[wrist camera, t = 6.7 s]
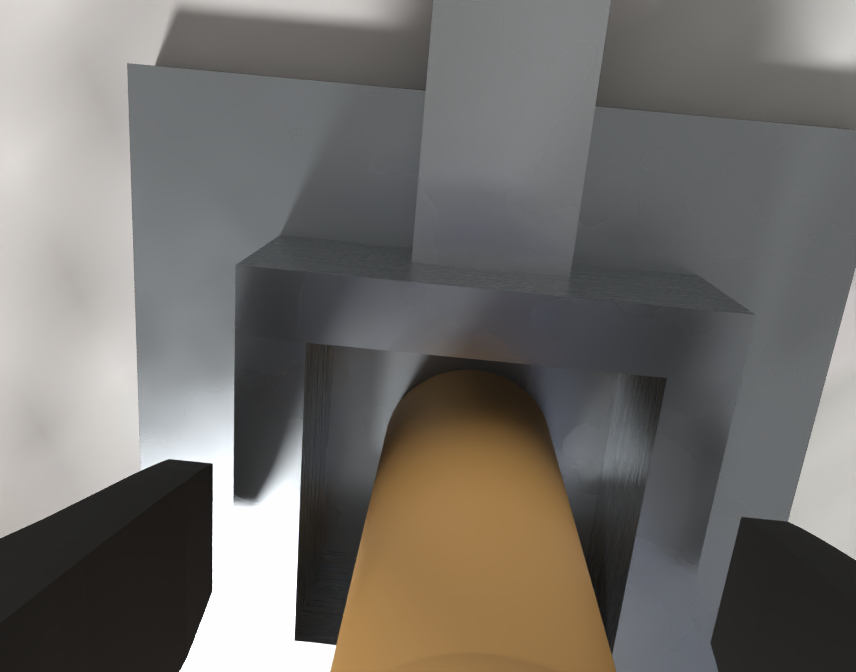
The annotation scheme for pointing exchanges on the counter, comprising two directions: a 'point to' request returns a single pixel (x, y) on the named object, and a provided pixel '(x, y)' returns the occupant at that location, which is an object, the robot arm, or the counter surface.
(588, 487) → the grey slotted socket block
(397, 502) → the round-ended pin
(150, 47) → the counter surface
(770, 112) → the counter surface
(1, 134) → the counter surface
